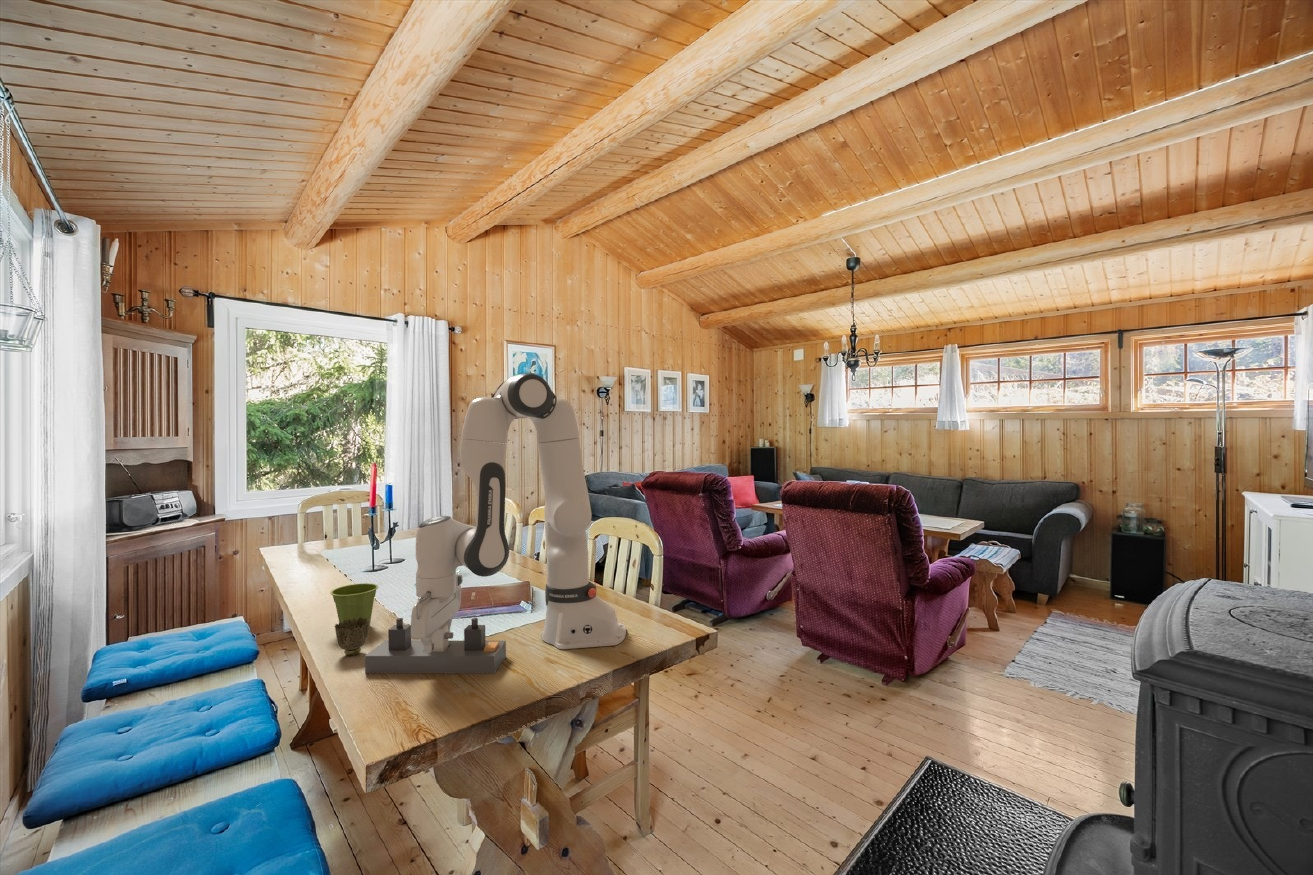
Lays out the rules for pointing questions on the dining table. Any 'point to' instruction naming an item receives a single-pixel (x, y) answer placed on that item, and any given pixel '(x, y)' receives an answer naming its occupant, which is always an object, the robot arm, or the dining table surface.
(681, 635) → the dining table surface
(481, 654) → the power strip
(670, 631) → the dining table surface
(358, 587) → the plant pot
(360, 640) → the cup
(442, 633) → the plug
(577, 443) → the robot arm
